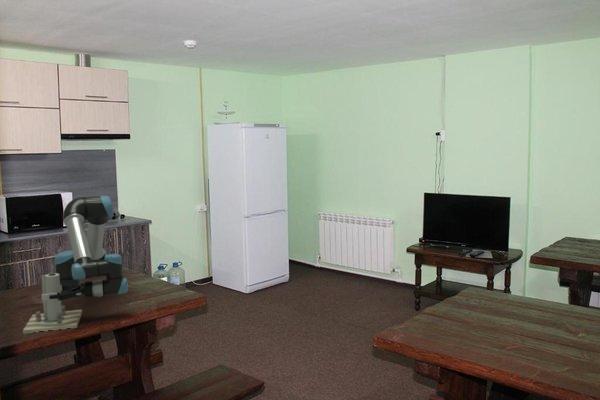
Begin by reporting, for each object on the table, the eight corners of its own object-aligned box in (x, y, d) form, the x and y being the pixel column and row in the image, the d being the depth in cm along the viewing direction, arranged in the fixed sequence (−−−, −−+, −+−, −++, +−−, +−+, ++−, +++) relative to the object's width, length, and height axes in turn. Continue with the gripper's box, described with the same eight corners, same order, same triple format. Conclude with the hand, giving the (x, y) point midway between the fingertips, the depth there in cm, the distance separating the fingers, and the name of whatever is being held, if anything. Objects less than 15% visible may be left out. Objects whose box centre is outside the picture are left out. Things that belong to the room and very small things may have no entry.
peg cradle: (33, 317, 245) (32, 305, 244) (82, 312, 252) (81, 300, 251) (23, 333, 224) (21, 320, 224) (76, 327, 231) (76, 315, 230)
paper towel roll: (64, 318, 238) (61, 274, 236) (51, 322, 234) (48, 276, 232) (56, 315, 243) (54, 271, 241) (44, 319, 238) (41, 274, 236)
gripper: (91, 304, 230) (39, 309, 224) (96, 289, 254) (49, 293, 248) (90, 288, 229) (38, 293, 223) (95, 274, 253) (48, 278, 247)
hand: (44, 293), depth 235 cm, fingers open, 13 cm apart
